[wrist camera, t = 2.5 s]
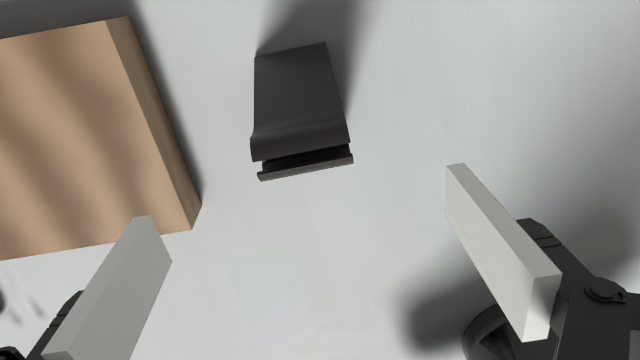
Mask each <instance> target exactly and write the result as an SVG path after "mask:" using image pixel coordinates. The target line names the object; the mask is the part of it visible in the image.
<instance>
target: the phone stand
mask: <svg viewBox="0 0 640 360" xmlns="http://www.w3.org/2000/svg"><path fill="white" fill-rule="evenodd" d="M348 143H350V138H349V133H348V128H347V124H346V120H345V117H344V114H343V111H342V107H341V103H340V99H339V95H338V91H337V87H336V83H335V79H334V75H333V71H332V67H331V63H330V59H329V55H328V51H327V47H326V43H325V42H323V43H319V44H314V45H309V46H305V47H300V48H295V49H291V50H286V51H282V52H277V53H272V54H268V55H263V56H258V57H255V58H254V130H253V134H252V136H251V138H250V149H251V156H252V161H253V162H257V161H262V168H263V171H261V172H257V177H258V178H259V180H260V181H261V182H262V181H267V180H273V179H278V178H283V177H288V176H293V175H298V174H303V173H308V172H313V171H318V170H323V169H328V168H333V167H338V166H343V165H348V164H353V155H352V153H350V149H349V144H348Z"/></svg>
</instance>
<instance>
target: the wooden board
mask: <svg viewBox="0 0 640 360" xmlns="http://www.w3.org/2000/svg"><path fill="white" fill-rule="evenodd" d="M201 207H202V206H201V203H200V200H199V198H198V195H197V192H196V190H195V187H194V185H193V182H192V179H191V177H190V174H189V172H188V169H187V166H186V164H185V161H184V159H183V156H182V153H181V151H180V148H179V145H178V143H177V140H176V138H175V135H174V132H173V130H172V127H171V125H170V122H169V119H168V117H167V114H166V112H165V109H164V106H163V104H162V101H161V98H160V96H159V93H158V91H157V88H156V85H155V83H154V80H153V78H152V75H151V72H150V70H149V67H148V65H147V62H146V59H145V57H144V54H143V51H142V49H141V46H140V44H139V41H138V38H137V36H136V33H135V31H134V28H133V25H132V23H131V20H130V18H129V15H128V16H123V17H117V18H112V19H106V20H101V21H95V22H90V23H84V24H79V25H73V26H68V27H62V28H57V29H51V30H46V31H40V32H35V33H29V34H24V35H18V36H13V37H7V38H2V39H0V261H2V260H8V259H14V258H21V257H27V256H33V255H39V254H45V253H51V252H58V251H64V250H70V249H76V248H82V247H89V246H95V245H101V244H107V243H113V242H117V241H118V239H119V238H120V236H121V235H122V233H123V232H124V230H125V229H126V227H127V226H128V224H129V223H130V221H131V220H132V218H134V217H140V216H146V215H150V216H151V218H152V220H153V222H154V225H155V227H156V229H157V231H158V233H159V235H163V234H169V233H175V232H181V231H187V230H192V228H193V225H194V223H195V221H196V218H197V216H198V214H199V211H200V209H201Z"/></svg>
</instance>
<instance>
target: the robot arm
mask: <svg viewBox="0 0 640 360" xmlns="http://www.w3.org/2000/svg"><path fill="white" fill-rule="evenodd" d="M445 218H446V219H447V221H448V222H449V224H450V226H451V227H452V229H453V231H454V232H455V234H456V236H457V237H458V239H459V240H460V242H461V244H462V245H463V247H464V249H465V250H466V252H467V253H468V255H469V257H470V258H471V260H472V262H473V263H474V265H475V267H476V268H477V270H478V271H479V273H480V275H481V276H482V278H483V280H484V281H485V283H486V284H487V286H488V288H489V289H490V291H491V293H492V294H493V296H494V298H495V299H496V301H497V302H498V304H497V305H495V306H493V307H492V308H490V309H488V310H486V311H485V312H484V313H482V314H481V315H480V316H478V317H477V318H476V319H475V320H474V321H473V322H472V323H471V324H470V326H469V327H468V329H467V330H466V332H465V334H464V337H463V340H462V349H463V353H464V355H465V357H466V359H467V360H640V294H636V293H629V292H626V290H625V289H624V288H622V287H621V286H619V285H618V284H616V283H615V282H612V281H610V280H607V279H605V278H601V277H595V276H593V275H592V274H591V273H590V272H589V271H588V270H587V269H586V268H585V267H584V266H583V265H582V264H581V263H580V262H579V261H578V260H577V259H576V258H575V257H574V256H573V255H572V254H571V253H570V252H569V251H568V250H567V249H566V248H565V247H564V246H562V243H561V242H560V241H559V240H558V239H557V238H554V235H553V234H552V233H551V232H550V231H549V230H548V229H547V228H546V227H545V226H544V225H542V224H540V223H538V222H536V221H534V220H532V219H531V218H527V219H521V220H514V218H513V217H512V216H511V215H510V214H509V213H508V212H507V211H506V209H505V208H504V207H503V206H502V205H501V204H500V203H499V202H498V200H497V199H496V198H495V197H494V196H493V195H492V194H491V193H490V191H489V190H488V189H487V188H486V187H485V186H484V185H483V184H482V183H481V181H480V180H479V179H478V178H477V177H476V176H475V175H474V174H473V172H472V171H471V170H470V169H469V168H468V167H467V166H466V165H465V163H460V164H454V165H448V166H446V209H445ZM171 263H172V260H171V258H170V256H169V254H168V252H167V249H166V247H165V245H164V243H163V241H162V239H161V237H160V235H159V233H158V231H157V229H156V227H155V225H154V222H153V220H152V218H151V216H150V215H146V216H140V217H134V218H132V220H131V221H130V223H129V224H128V226H127V227H126V229H125V230H124V232H123V233H122V235H121V236H120V238H119V239H118V241H117V242H116V243H115V245H114V246H113V248H112V249H111V251H110V252H109V254H108V255H107V257H106V258H105V260H104V261H103V263H102V264H101V266H100V267H99V269H98V270H97V272H96V273H95V275H94V276H93V278H92V279H91V280H90V282H89V283H88V285H87V286H86V288H85V289H84V290H82V291H78V292H77V293H76V294H74V295H73V296H72V297H71V298H70V299H69V300H68V301H67V302H66V303H65V304H64V305H63V307H62V308H61V309H60V311H59V312H58V314H57V315H56V316H57V317H56V318H54V319H53V321H52V322H51V324H50V325H49V328H47V329H46V331H45V332H44V333H43V335H42V336H41V338H40V339H39V341H38V342H37V343H36V345H35V346H34V348H33V349H32V350H31V352H30V353H29V355H28V356H27V358H26V359H25V358H24V357H23V355H22V354H21V353H20V352H19V351H18V350H17V349H16V348H15V347H10V346H7V347H3V348H0V360H129V359H130V357H131V355H132V353H133V350H134V348H135V346H136V343H137V341H138V339H139V337H140V334H141V332H142V330H143V327H144V325H145V323H146V320H147V318H148V316H149V314H150V311H151V309H152V307H153V304H154V302H155V300H156V297H157V295H158V293H159V291H160V288H161V286H162V284H163V281H164V279H165V277H166V275H167V272H168V270H169V268H170V265H171Z"/></svg>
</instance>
